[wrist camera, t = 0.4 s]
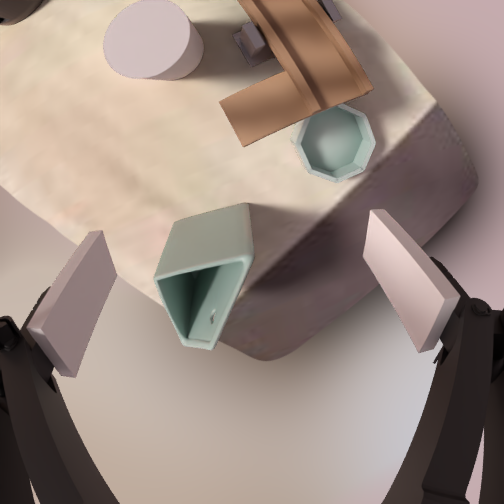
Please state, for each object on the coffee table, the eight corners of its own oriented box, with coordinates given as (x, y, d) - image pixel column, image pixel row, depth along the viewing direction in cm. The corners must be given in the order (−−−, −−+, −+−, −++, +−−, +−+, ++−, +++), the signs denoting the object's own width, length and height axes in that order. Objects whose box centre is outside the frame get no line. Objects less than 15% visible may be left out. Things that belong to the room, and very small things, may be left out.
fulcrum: (232, 35, 28) (231, 18, 20) (306, 7, 26) (328, -14, 18) (250, 67, 31) (256, 59, 23) (323, 38, 29) (350, 26, 21)
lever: (164, 5, 22) (155, -6, 20) (271, -40, 20) (270, -53, 17) (243, 147, 26) (240, 144, 24) (367, 94, 24) (375, 87, 21)
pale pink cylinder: (201, 18, 27) (187, -10, 17) (206, 75, 31) (193, 69, 21) (139, 30, 27) (101, 12, 17) (143, 85, 31) (107, 87, 21)
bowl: (280, 119, 35) (284, 122, 32) (347, 92, 33) (357, 93, 30) (310, 183, 40) (316, 192, 37) (371, 156, 38) (382, 163, 35)
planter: (200, 176, 38) (175, 254, 22) (249, 204, 41) (262, 296, 24) (152, 262, 45) (118, 360, 28) (195, 283, 48) (182, 385, 31)
